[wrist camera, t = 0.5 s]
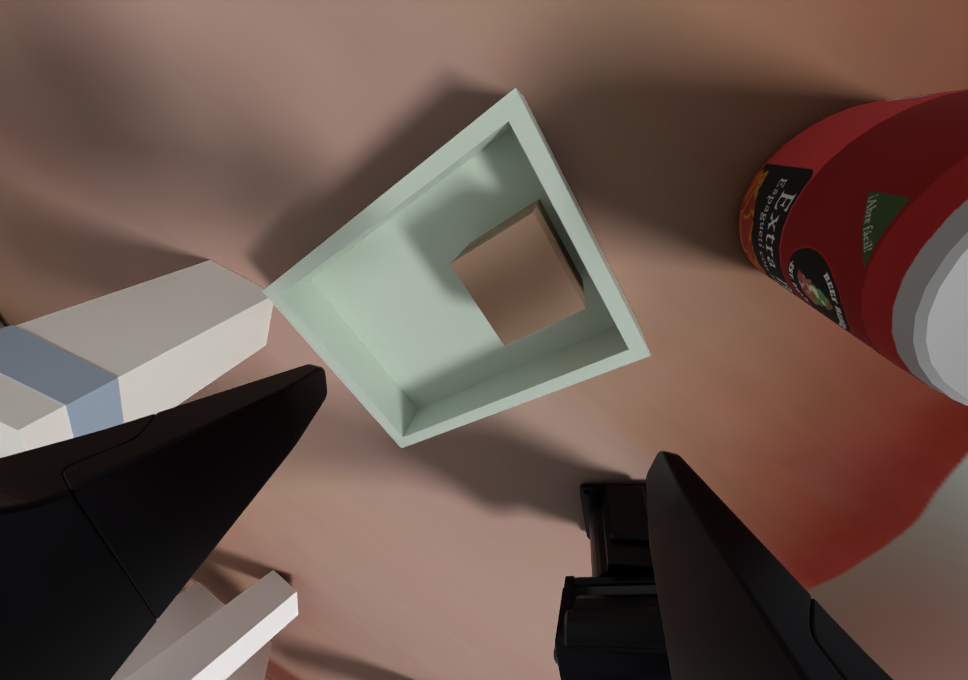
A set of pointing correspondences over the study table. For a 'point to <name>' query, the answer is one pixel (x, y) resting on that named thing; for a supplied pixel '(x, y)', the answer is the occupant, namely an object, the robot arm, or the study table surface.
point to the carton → (125, 354)
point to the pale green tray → (453, 288)
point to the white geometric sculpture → (214, 635)
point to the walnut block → (521, 275)
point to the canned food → (875, 229)
